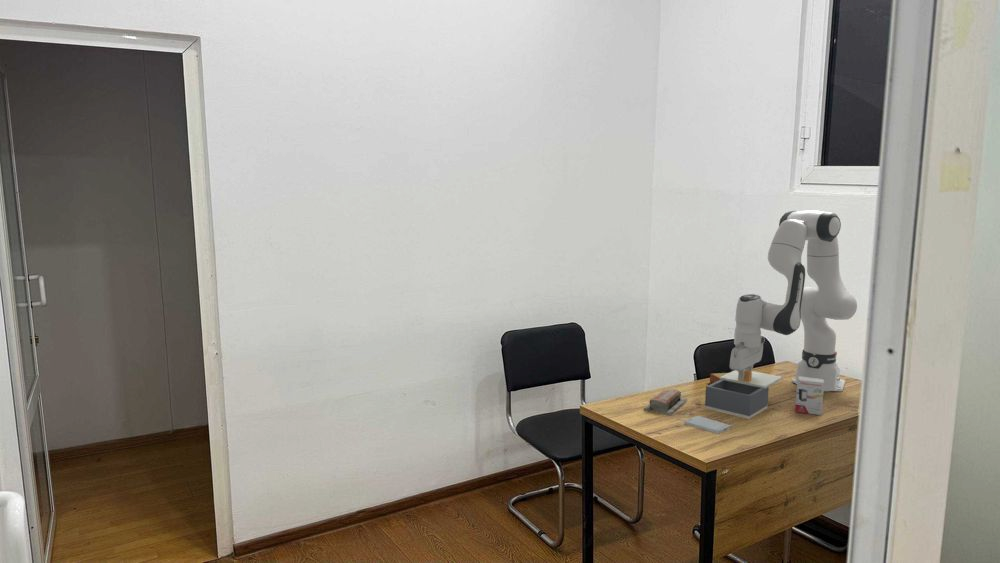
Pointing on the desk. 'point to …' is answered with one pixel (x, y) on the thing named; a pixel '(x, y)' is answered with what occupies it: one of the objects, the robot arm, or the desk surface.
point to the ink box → (809, 395)
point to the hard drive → (708, 424)
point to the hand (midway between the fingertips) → (744, 377)
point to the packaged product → (666, 402)
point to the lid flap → (752, 378)
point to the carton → (716, 377)
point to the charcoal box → (736, 398)
